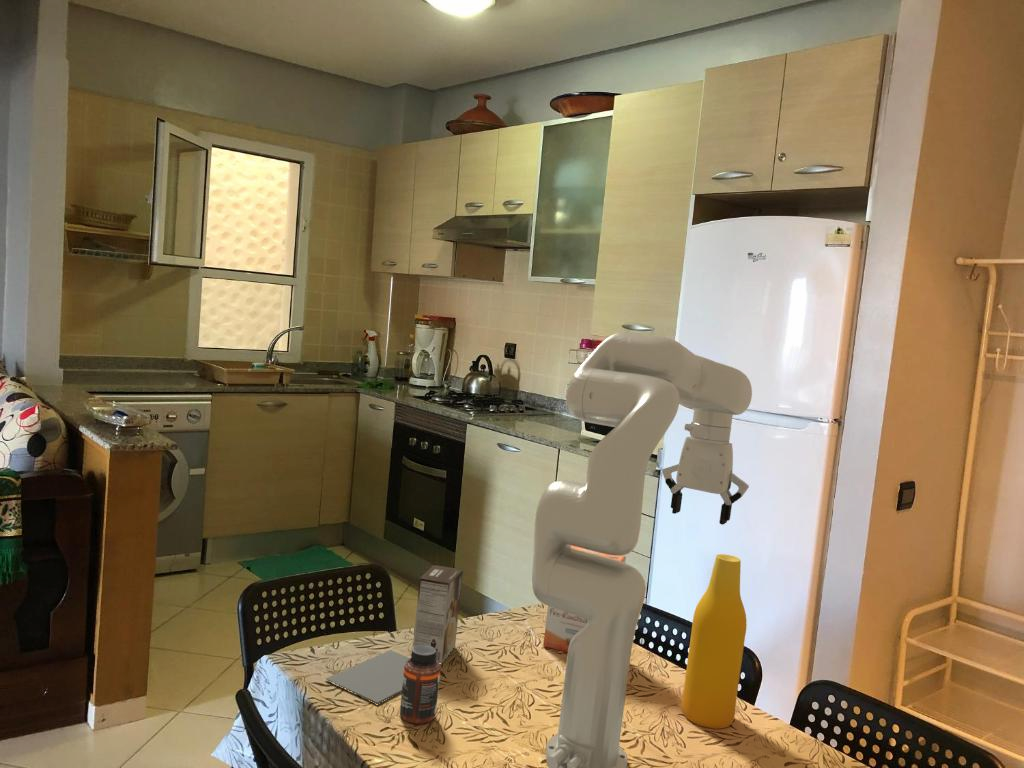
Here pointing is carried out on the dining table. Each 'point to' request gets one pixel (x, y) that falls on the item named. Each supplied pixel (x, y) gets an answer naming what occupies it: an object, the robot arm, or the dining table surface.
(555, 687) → the dining table surface
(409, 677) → the supplement bottle
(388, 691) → the mat
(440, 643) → the coffee box
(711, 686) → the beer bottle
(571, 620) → the cracker box
